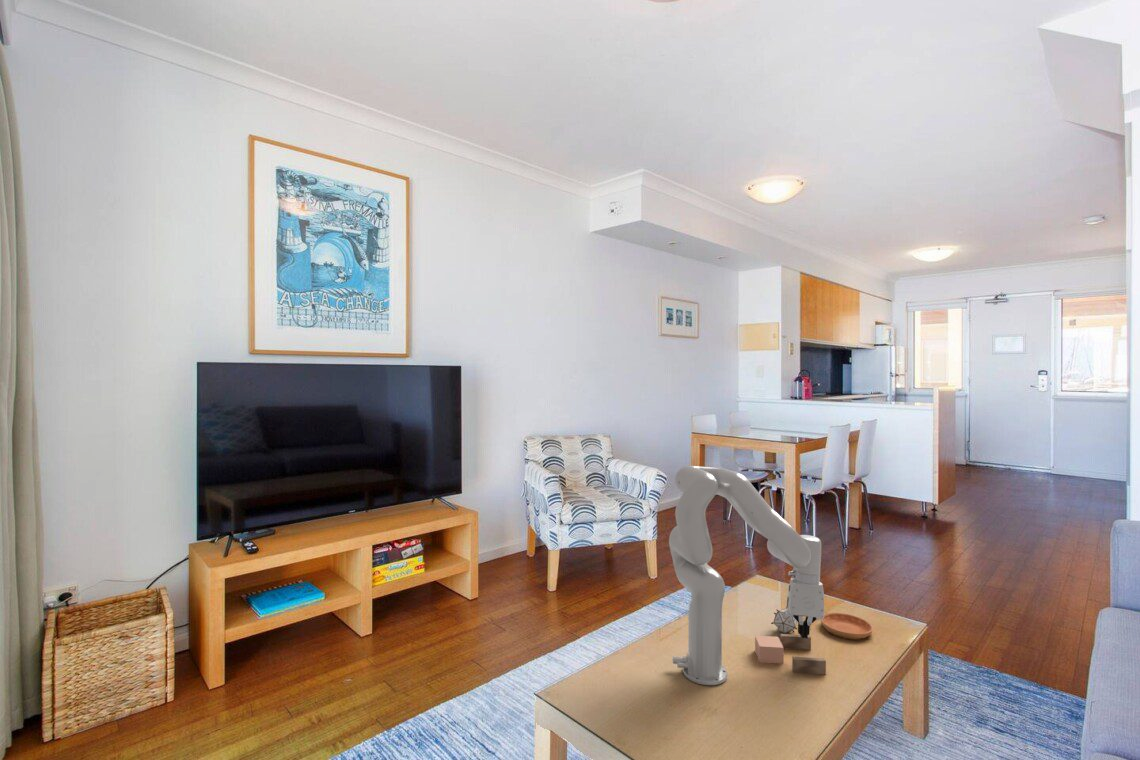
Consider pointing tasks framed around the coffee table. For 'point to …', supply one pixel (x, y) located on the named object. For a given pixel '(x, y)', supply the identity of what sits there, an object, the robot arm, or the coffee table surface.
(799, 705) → the coffee table surface
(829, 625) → the saucer
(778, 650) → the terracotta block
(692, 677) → the robot arm
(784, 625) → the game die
